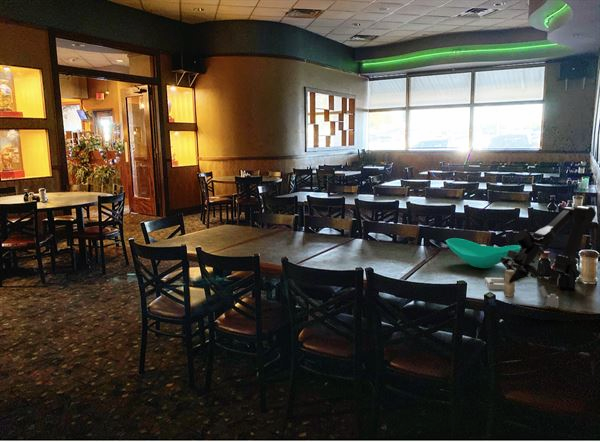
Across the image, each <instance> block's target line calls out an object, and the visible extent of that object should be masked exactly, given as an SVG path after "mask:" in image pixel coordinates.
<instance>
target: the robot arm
mask: <svg viewBox="0 0 600 442" xmlns="http://www.w3.org/2000/svg"><path fill="white" fill-rule="evenodd" d="M596 214H597V212H596V209H595V208H594V207H591V206H585V205H578V206H576V207H572V206H571V207H570V206H565V207H563V209H562V210H561V211H560V213H559V214H558V215H556V216H555V218H554V219H553V220H551V221H550V222H549V223H548V224H547V225H545V226H544V227H541V228H539V229H538V230H537V231H535V232H534V233H533V234H531V233H530V231H529V230H527V229H523V230H522V231H519V232H517V233H515V235H514V237H513V239H514V241H515V242H516V243H517V245H519V246H520V247H521V248H522V249H523V251H521V250H520V251H519V252H515V251H511V250H509V251H508V254H507V257H510V258H506V257H502V258H501V259H500V262H501V264H502V265H503V266H504V267H505V268H506V270H510V269H511V270H514V271H515V273H514V275H513V276H512V278H511V279H510V281H509V283H513V282H515V283H516V282H517V281H519V280H521V279H525V278H529V274H530V277H531V278H533V279H537V278H538V277H539V275H540V274H539V273H540V272H539V271H538V270H537V269H536V267H534V266H533V265H532V264H534V265H535V259H536V258H537V257H538V256H539V254H541V255H544V254H545V250H544V249H545V248H544V247H548V246H550V245H551V244H552V242H553V241H554V240H555V239H556V234H557V233H558V232H559V231H560V230H562V228H563V227H564V226H565V225H566V224H567V223H568V222H569V221H571V220H572V219H573V220H572V221H573V226H572V228H571V230H570V233H569V236H568V239H567V241H566V244H565V246H564V250H563V252H561V254H556V256H555V260H554V261H553V267H554V269H555V273H556V274H557V275H559V276H557V282H556V283H557V287H558V289H559V290H567V291H576V279H577V278H580V275H581V272H580V270H578V268H576V267H577V258H576V255H577V252H578V249H579V247H580V245H581V242H582V238H583V236H584V233H585V231H586V228H587V226H589V225H590V224H591V223H592V222H593V221H594V219H595V217H596ZM541 246H543V247H541ZM503 278H504V281H505V276H504V277H503Z"/></svg>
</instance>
